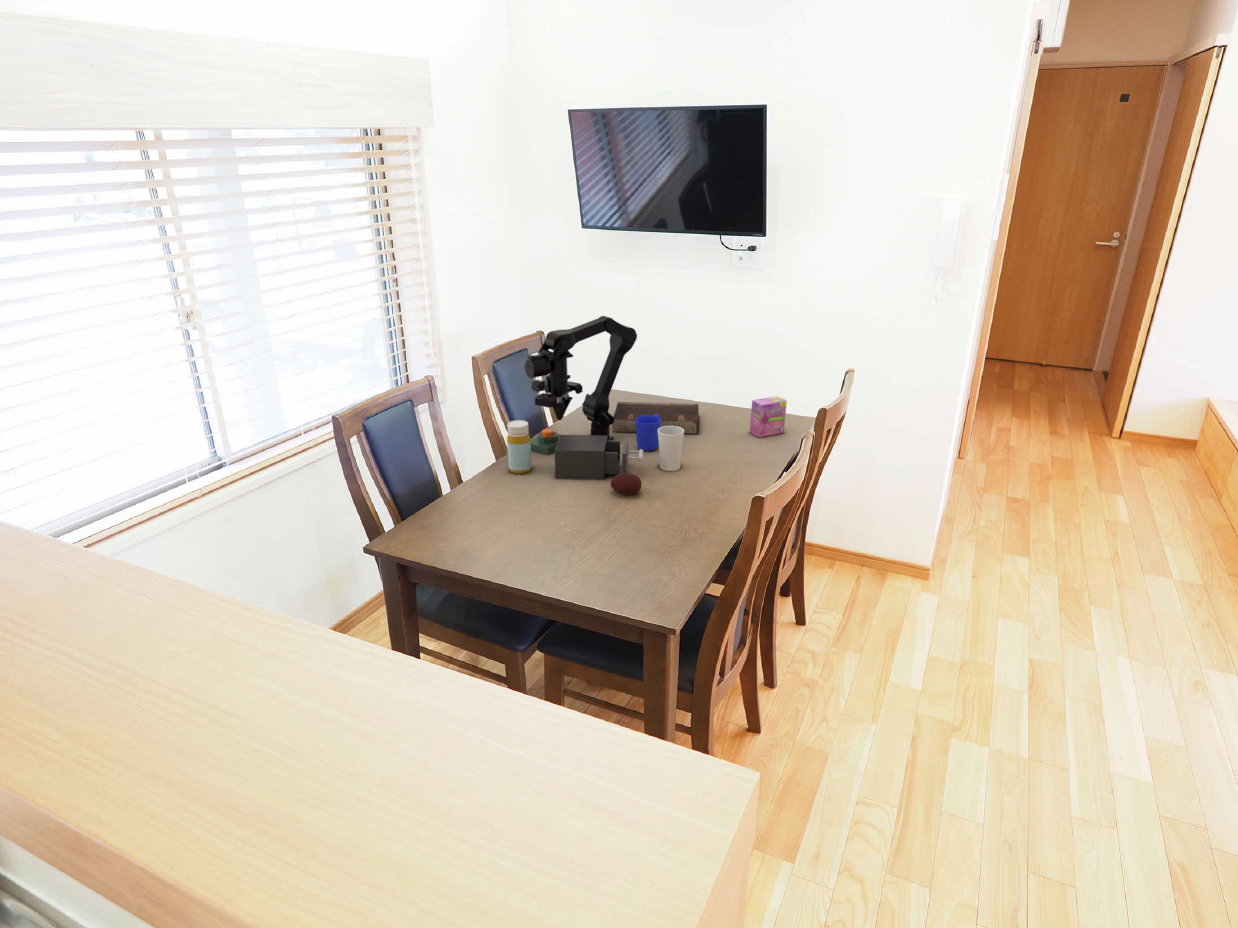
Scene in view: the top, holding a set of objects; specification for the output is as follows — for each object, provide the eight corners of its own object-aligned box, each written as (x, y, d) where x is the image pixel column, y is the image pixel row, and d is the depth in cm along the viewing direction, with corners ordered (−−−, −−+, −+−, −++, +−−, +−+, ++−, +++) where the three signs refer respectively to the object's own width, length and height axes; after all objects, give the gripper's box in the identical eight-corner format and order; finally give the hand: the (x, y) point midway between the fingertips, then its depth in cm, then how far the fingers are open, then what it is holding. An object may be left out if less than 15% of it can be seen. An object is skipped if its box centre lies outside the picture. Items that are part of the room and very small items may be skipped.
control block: (549, 437, 264) (548, 426, 263) (570, 442, 260) (570, 431, 258) (526, 448, 255) (525, 437, 254) (547, 454, 251) (547, 443, 249)
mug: (668, 441, 260) (669, 413, 256) (654, 454, 250) (655, 425, 246) (645, 438, 263) (646, 410, 260) (631, 450, 253) (631, 421, 249)
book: (697, 415, 283) (698, 402, 281) (698, 434, 266) (698, 420, 264) (617, 413, 286) (617, 400, 284) (613, 432, 268) (613, 418, 266)
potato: (634, 501, 219) (634, 481, 217) (606, 495, 223) (606, 475, 221) (646, 490, 226) (646, 471, 223) (618, 485, 229) (618, 466, 227)
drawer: (643, 461, 243) (643, 439, 240) (642, 476, 232) (642, 454, 229) (585, 460, 244) (584, 438, 241) (581, 475, 234) (580, 452, 231)
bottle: (528, 475, 236) (525, 428, 230) (505, 473, 237) (502, 427, 231) (534, 466, 242) (532, 420, 236) (513, 464, 243) (510, 419, 237)
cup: (675, 474, 236) (676, 437, 231) (652, 468, 240) (652, 431, 235) (687, 465, 242) (688, 428, 238) (664, 459, 246) (665, 423, 242)
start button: (547, 432, 258) (547, 427, 258) (555, 435, 256) (555, 430, 256) (540, 436, 256) (540, 431, 255) (548, 438, 254) (548, 433, 253)
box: (758, 438, 263) (761, 404, 258) (749, 432, 268) (751, 399, 263) (784, 433, 267) (787, 400, 262) (774, 427, 272) (777, 395, 267)
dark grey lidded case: (607, 462, 244) (607, 435, 241) (604, 479, 233) (604, 451, 229) (561, 461, 245) (560, 434, 242) (555, 478, 234) (554, 450, 230)
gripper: (554, 361, 255) (555, 407, 261) (519, 376, 240) (521, 424, 247) (583, 366, 250) (583, 413, 256) (548, 381, 235) (550, 430, 241)
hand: (559, 419), depth 250 cm, fingers closed
